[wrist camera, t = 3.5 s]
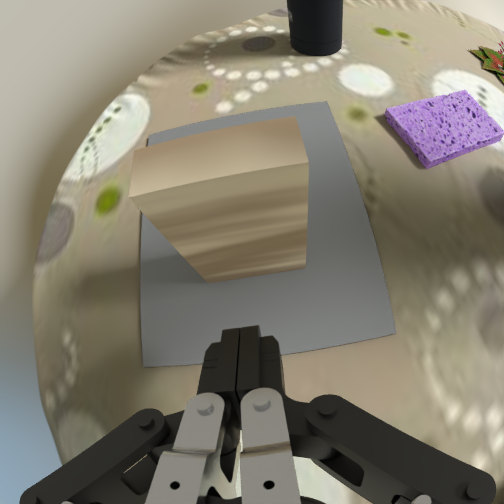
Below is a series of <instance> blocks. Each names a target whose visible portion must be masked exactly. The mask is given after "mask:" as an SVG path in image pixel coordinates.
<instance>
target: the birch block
mask: <svg viewBox="0 0 504 504" xmlns="http://www.w3.org/2000/svg"><path fill="white" fill-rule="evenodd" d="M308 186H309V161H308V157H307V154H306V150H305V147H304V143H303V140H302V136H301V133H300V129H299V126H298V123H297V119H296V116H292V117H285V118H278V119H272V120H265V121H259V122H254V123H248V124H242V125H237V126H232V127H227V128H222V129H217V130H212V131H208V132H203V133H199V134H194V135H190V136H186V137H182V138H177V139H173V140H170V141H166V142H162V143H158V144H154V145H151V146H147V147H144V148H140V149H137V150H134V157H133V165H132V173H131V182H130V191H129V198H130V199H131V200H132V202H133V203H134V204H135V205H136V206H137V207H138V208H139V209H140V211H141V212H142V213H143V214H144V215H145V216H146V217H147V218H148V219H149V221H150V222H151V223H152V224H153V225H154V226H155V227H156V228H157V229H158V230H159V232H160V233H161V234H162V235H163V236H164V237H165V238H166V239H167V240H168V241H169V242H170V244H171V245H172V246H173V247H174V248H175V249H176V250H177V251H178V252H179V253H180V254H181V255H182V256H183V257H184V258H185V260H186V261H187V262H188V263H189V264H190V265H191V266H192V267H193V268H194V269H195V270H196V271H197V272H198V273H199V274H200V275H201V276H202V277H203V278H204V279H205V280H206V282H207V283H214V282H221V281H227V280H234V279H241V278H247V277H254V276H260V275H267V274H273V273H279V272H286V271H292V270H298V269H304V268H306V248H307V222H308Z"/></svg>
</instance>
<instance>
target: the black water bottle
mask: <svg viewBox="0 0 504 504" xmlns="http://www.w3.org/2000/svg"><path fill="white" fill-rule="evenodd" d="M287 7H288V17H289V28H290V39H291V45H292V47H293V48H294V49H295V50H297V51H298V52H300V53H303V54H307V55H313V56H326V55H331V54H334V53H336V52H338V51H339V50H340V49H341V45H342V18H343V0H287Z"/></svg>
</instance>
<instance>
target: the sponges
mask: <svg viewBox="0 0 504 504" xmlns="http://www.w3.org/2000/svg"><path fill="white" fill-rule="evenodd" d="M385 116H386V117H387V122H388V123H389V124H390V126H391V127H392V128H394V130H395V131H396V132H397V133H398V135H399V136H400V137H401V138H402V139H403V140H404V141H405V142H406V144H407V145H409V146H410V147H411V149H412V151H413V152H414V154H415V155H416V156H417V157H418V159H419V160H420V161H421V163H422V164H423V165H424V167H425V168H426V169H428V168H430V167H432V166H435V165H438V164H440V163H442V162H446V161H447V160H450V159H453V158H455V157H458V156H460V155H463V154H466V153H468V152H471V151H474V150H476V149H479V148H481V147H485V146H488V145H490V144H493V143H496V142H498V141H500V140H501V138H502V137H503V135H504V131H503V130H502V128H501V127H500V126H499V125H498V124H497V123H496V122H495V121H494V120H493V118H492V117H489V116H488V115H487V112H486V111H485V110H484V109H483V108H482V107H481V106H479V104H478V103H477V102H476V100H474V98H473V97H472V96H471V95H470V94H468V92H467V91H466V90H462V91H459V92H454V93H451V94H449V95H448V96H446V95H442V96H436V97H431V98H429V99H428V98H427V99H423V100H418V101H415V102H410V103H407V104H403V105H398V106H395V107H390V108H387V109H386V111H385Z"/></svg>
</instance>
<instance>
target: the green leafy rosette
mask: <svg viewBox="0 0 504 504" xmlns="http://www.w3.org/2000/svg"><path fill="white" fill-rule="evenodd" d="M501 42H502V41H501ZM502 44H503V42H502ZM499 45H500V46H501V44H499ZM503 46H504V45H503ZM480 47H482V46H480ZM501 47H502V46H501ZM482 48H483V49H484V51H485V53H484V52H482V51H479V50H470V51H472V52H473V53H474V54H476V55H477V56H479V57H480V58H481V59H482V60H483V61H484V64H483V65H484V67H482V68H483V69H489V70H493V71H496V73H497V75H498V76H499V77H500V79H501V80H502V82H503V83H504V77H503V76H502V75H501V73H502V74H504V72H503V71H501V70H500V69H499V68H498V64H499V65H501V66H503V67H502V69H504V54H503V52H502V50H501V49H500V52H499V51H498V52H497V51H494V50H492V49H489V48H484V47H482ZM502 49H503V48H502ZM468 50H469V49H468ZM503 51H504V49H503Z"/></svg>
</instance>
